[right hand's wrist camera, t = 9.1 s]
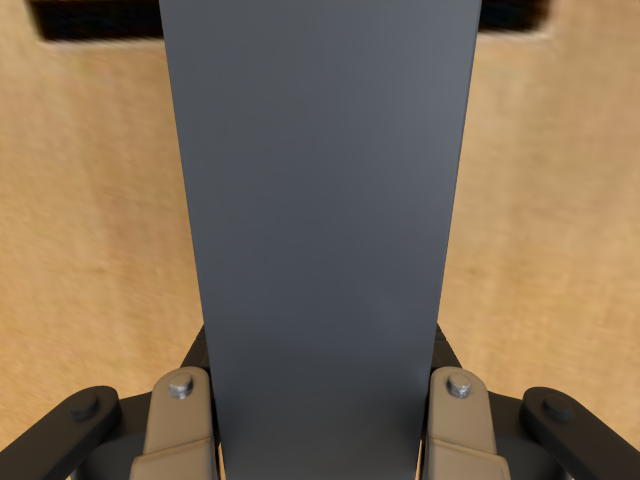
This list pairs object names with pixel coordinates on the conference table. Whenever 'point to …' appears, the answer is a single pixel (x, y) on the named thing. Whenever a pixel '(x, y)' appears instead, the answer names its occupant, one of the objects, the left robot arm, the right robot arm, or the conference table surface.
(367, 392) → the post
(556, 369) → the conference table surface
